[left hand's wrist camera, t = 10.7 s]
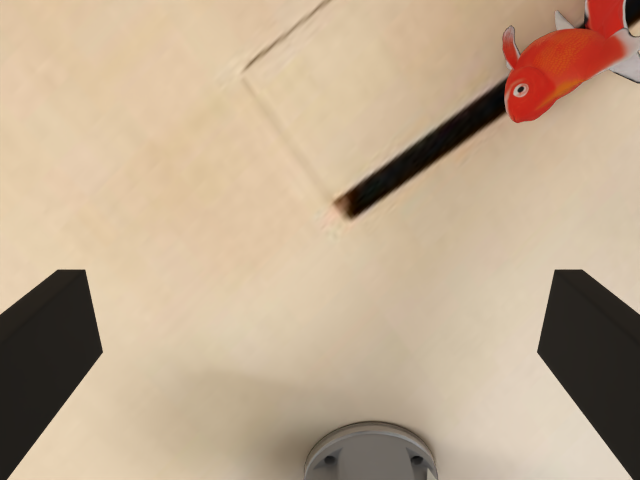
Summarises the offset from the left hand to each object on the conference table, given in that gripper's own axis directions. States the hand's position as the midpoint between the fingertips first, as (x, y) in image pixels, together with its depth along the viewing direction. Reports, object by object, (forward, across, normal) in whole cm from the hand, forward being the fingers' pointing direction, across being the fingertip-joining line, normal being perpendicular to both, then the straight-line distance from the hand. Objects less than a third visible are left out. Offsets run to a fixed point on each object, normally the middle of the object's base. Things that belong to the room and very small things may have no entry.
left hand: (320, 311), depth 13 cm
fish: (+28, -19, -9) cm, 35 cm away
